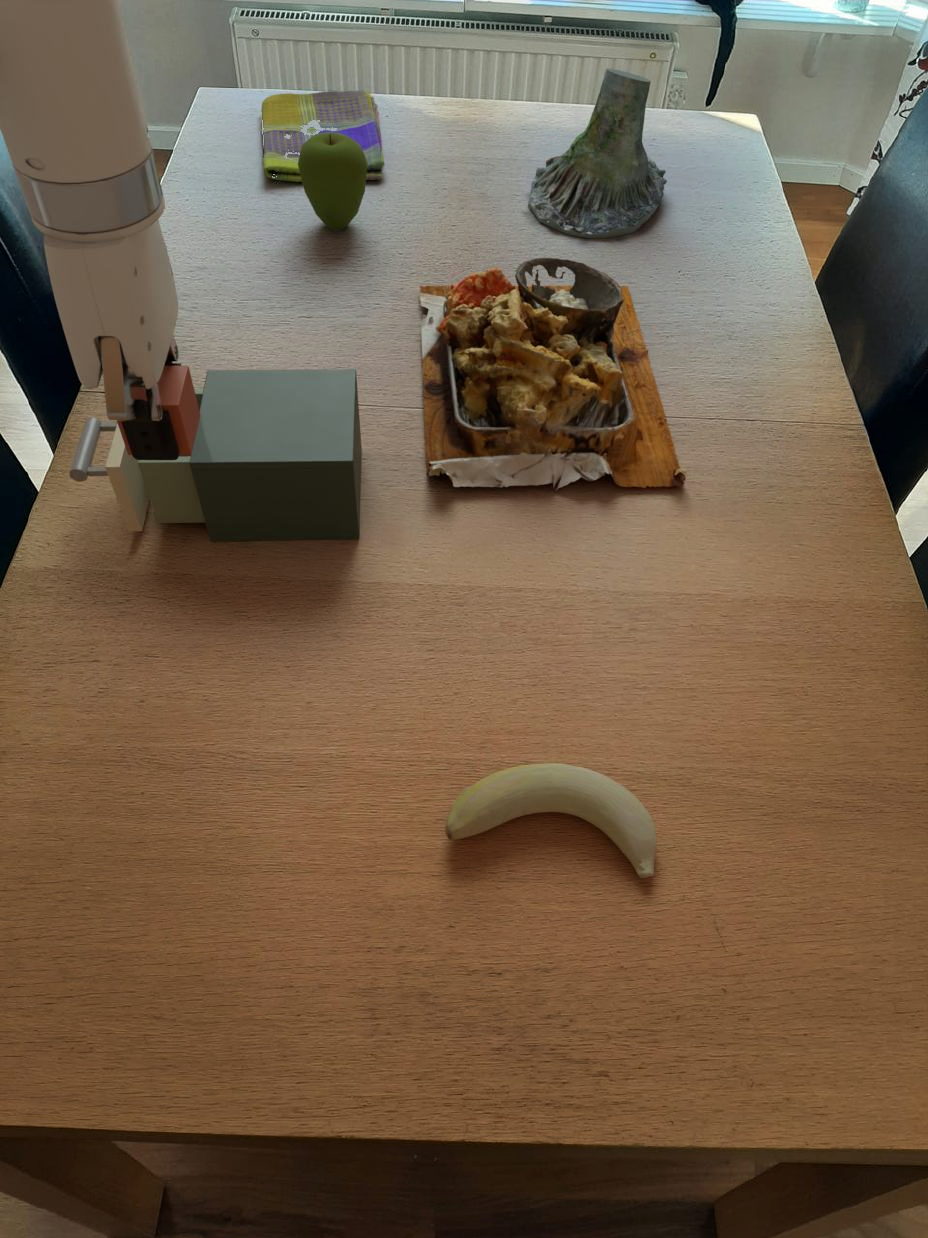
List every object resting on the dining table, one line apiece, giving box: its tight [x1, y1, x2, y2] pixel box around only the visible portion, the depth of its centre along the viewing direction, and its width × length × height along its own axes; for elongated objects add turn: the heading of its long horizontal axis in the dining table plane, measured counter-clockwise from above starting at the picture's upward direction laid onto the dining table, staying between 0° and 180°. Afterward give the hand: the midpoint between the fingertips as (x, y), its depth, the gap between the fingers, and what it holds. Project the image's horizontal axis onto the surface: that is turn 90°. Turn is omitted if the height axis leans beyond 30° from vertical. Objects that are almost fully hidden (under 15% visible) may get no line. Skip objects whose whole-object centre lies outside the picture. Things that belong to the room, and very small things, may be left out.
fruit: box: [444, 762, 657, 879], centre depth 65 cm, size 7×15×3 cm, turn 80°
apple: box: [298, 132, 368, 232], centre depth 113 cm, size 9×8×12 cm
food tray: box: [419, 257, 688, 493], centre depth 95 cm, size 35×26×11 cm
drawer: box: [68, 388, 205, 532], centre depth 82 cm, size 17×11×8 cm
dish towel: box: [260, 89, 385, 183], centre depth 131 cm, size 18×24×3 cm
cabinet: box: [189, 368, 363, 543], centre depth 83 cm, size 14×13×10 cm
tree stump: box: [527, 68, 668, 239], centre depth 120 cm, size 18×20×18 cm
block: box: [116, 365, 200, 456], centre depth 64 cm, size 4×4×4 cm
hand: (163, 431), depth 66 cm, fingers closed on block, 4 cm apart
